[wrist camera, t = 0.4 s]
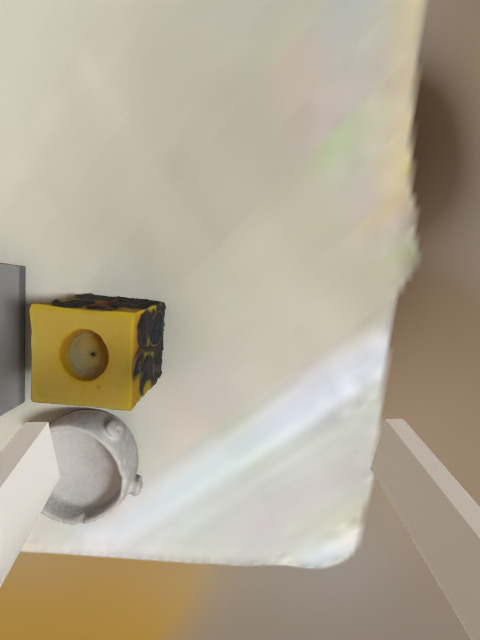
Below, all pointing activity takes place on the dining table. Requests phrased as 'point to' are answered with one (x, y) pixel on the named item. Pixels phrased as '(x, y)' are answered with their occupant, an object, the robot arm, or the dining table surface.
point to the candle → (96, 350)
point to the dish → (91, 466)
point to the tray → (12, 336)
